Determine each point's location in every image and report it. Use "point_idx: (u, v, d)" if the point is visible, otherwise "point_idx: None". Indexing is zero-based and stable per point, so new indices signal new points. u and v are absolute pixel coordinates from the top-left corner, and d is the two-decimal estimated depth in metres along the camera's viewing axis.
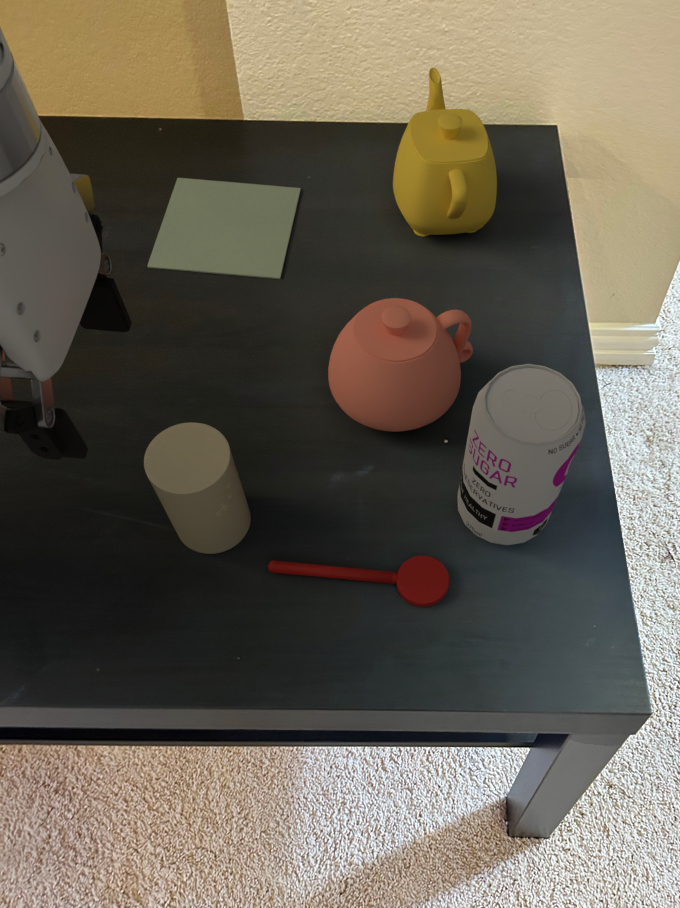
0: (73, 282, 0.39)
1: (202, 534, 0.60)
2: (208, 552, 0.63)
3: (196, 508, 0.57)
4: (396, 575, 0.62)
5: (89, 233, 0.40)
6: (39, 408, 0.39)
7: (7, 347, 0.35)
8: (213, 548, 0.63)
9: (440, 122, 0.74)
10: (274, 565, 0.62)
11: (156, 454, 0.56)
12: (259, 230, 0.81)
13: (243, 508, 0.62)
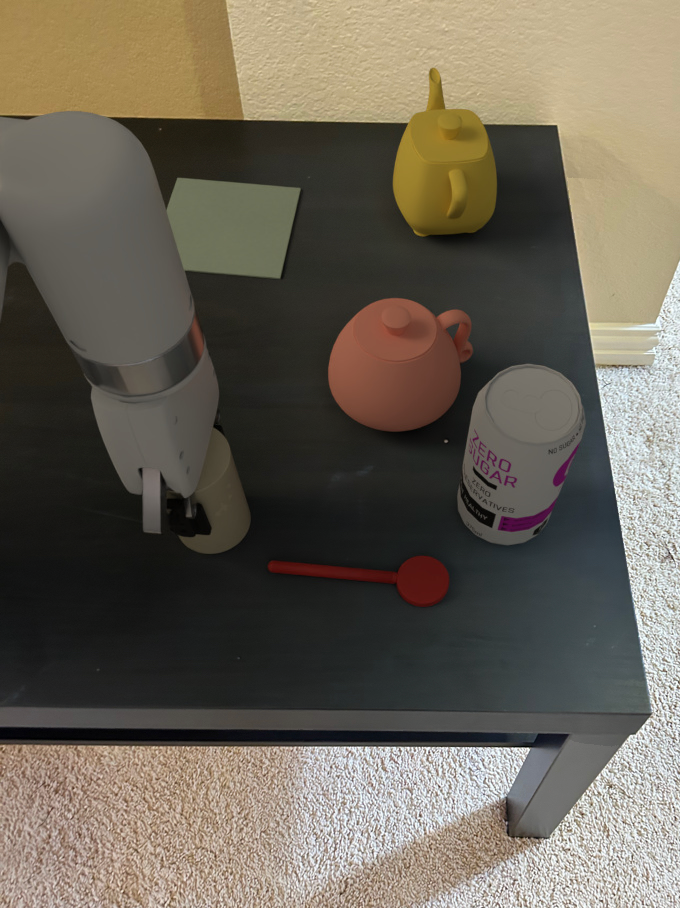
0: (207, 424, 0.53)
1: None
2: (208, 552, 0.63)
3: None
4: (396, 575, 0.62)
5: (214, 383, 0.54)
6: None
7: (168, 479, 0.49)
8: (213, 548, 0.63)
9: (440, 122, 0.74)
10: (274, 565, 0.62)
11: None
12: (259, 230, 0.81)
13: (243, 508, 0.62)
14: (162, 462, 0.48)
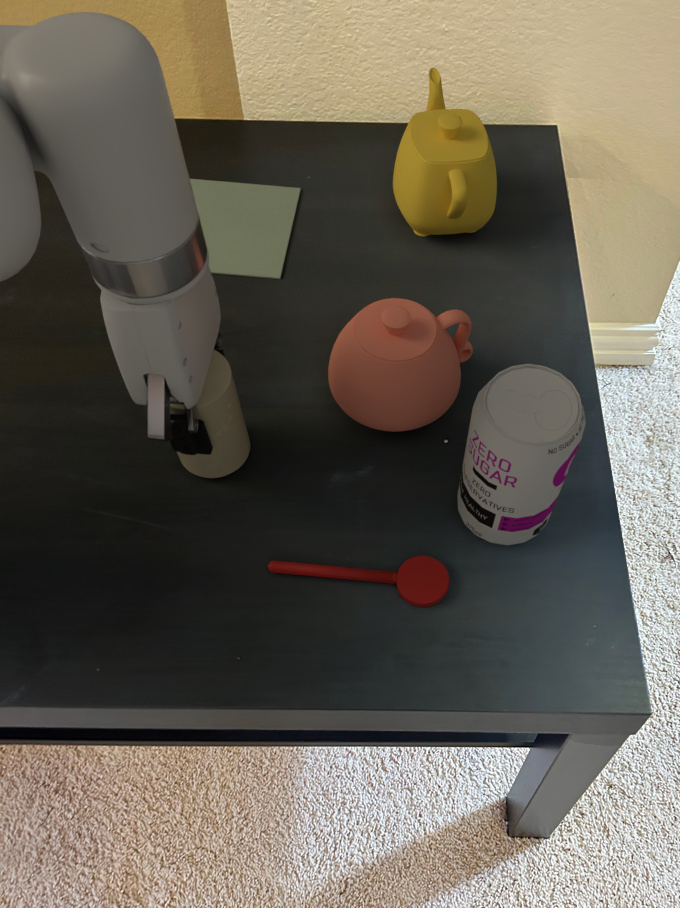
0: (209, 339, 0.55)
1: (203, 455, 0.63)
2: (209, 476, 0.66)
3: None
4: (396, 575, 0.62)
5: (216, 303, 0.57)
6: None
7: (172, 387, 0.52)
8: (214, 472, 0.66)
9: (440, 122, 0.74)
10: (274, 565, 0.62)
11: None
12: (259, 230, 0.81)
13: (243, 433, 0.65)
14: (166, 368, 0.51)
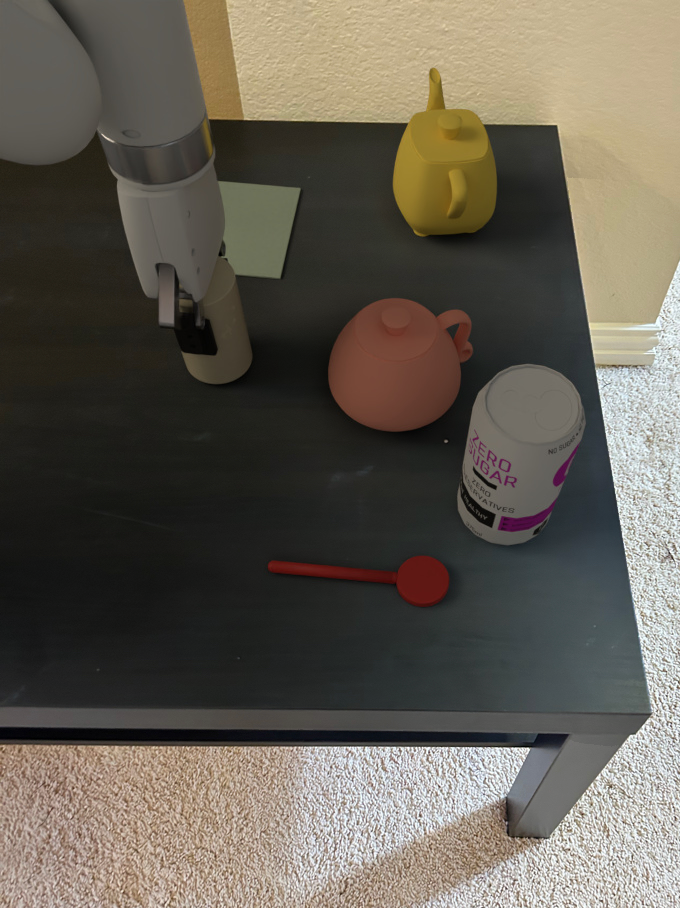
0: (214, 239, 0.60)
1: (209, 358, 0.68)
2: (214, 382, 0.71)
3: None
4: (396, 575, 0.62)
5: (221, 208, 0.62)
6: None
7: (181, 277, 0.57)
8: (219, 377, 0.70)
9: (440, 122, 0.74)
10: (274, 565, 0.62)
11: None
12: (259, 230, 0.81)
13: (246, 340, 0.70)
14: (176, 256, 0.55)
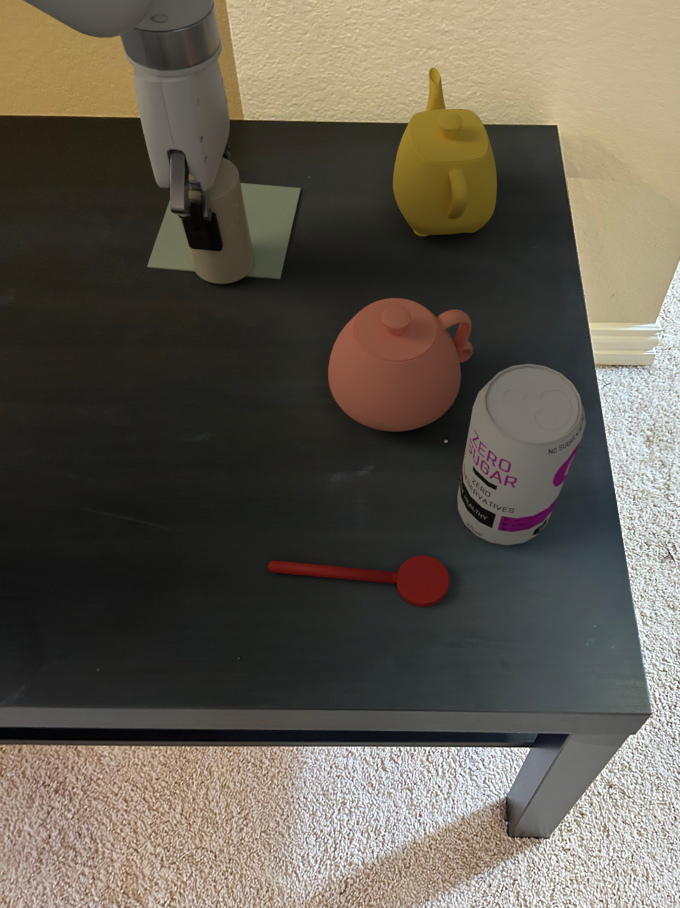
0: (220, 135, 0.66)
1: (215, 255, 0.74)
2: (219, 281, 0.77)
3: None
4: (396, 575, 0.62)
5: (226, 109, 0.68)
6: None
7: (190, 164, 0.63)
8: (223, 276, 0.76)
9: (440, 122, 0.74)
10: (274, 565, 0.62)
11: None
12: (259, 230, 0.81)
13: (248, 241, 0.76)
14: (186, 142, 0.61)
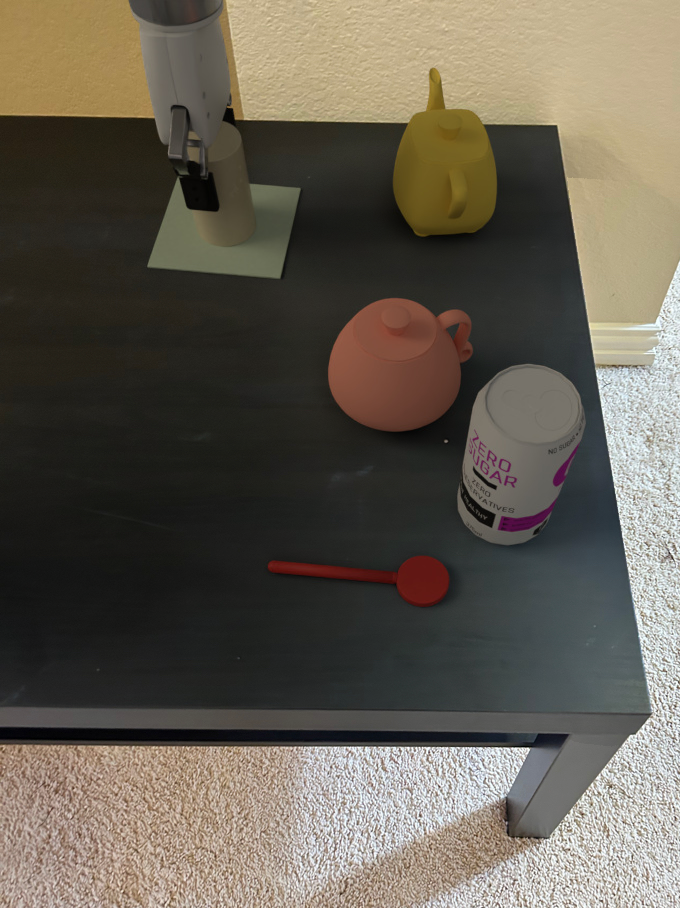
0: (222, 94, 0.69)
1: (218, 217, 0.77)
2: (223, 244, 0.80)
3: (215, 182, 0.73)
4: (396, 575, 0.62)
5: (227, 70, 0.70)
6: (202, 165, 0.69)
7: (193, 120, 0.65)
8: (227, 239, 0.79)
9: (440, 122, 0.74)
10: (274, 565, 0.62)
11: None
12: (259, 230, 0.81)
13: (250, 204, 0.78)
14: (189, 98, 0.64)
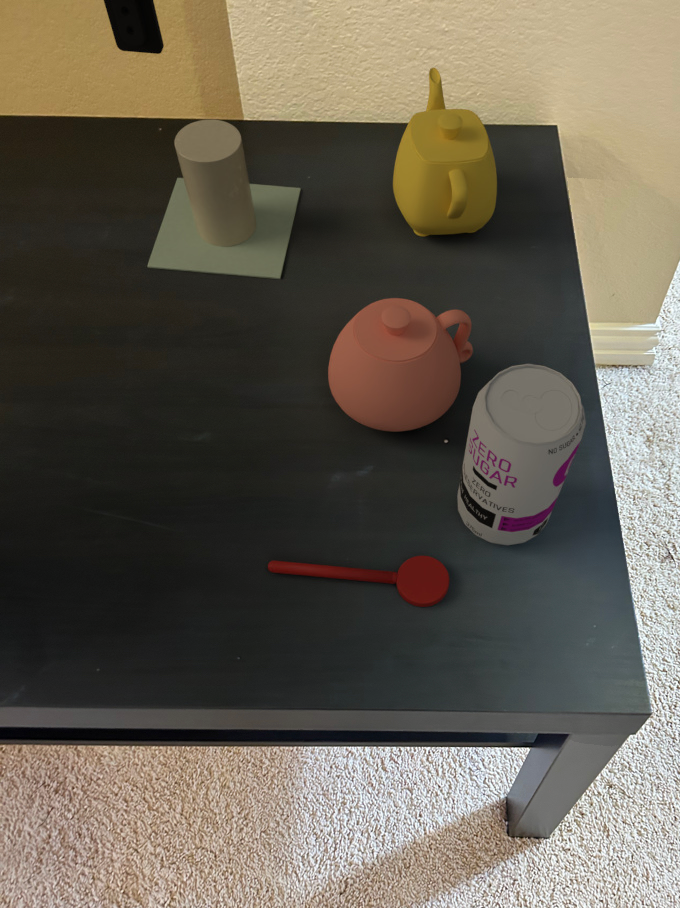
0: None
1: (218, 217, 0.77)
2: (223, 244, 0.80)
3: (215, 182, 0.73)
4: (396, 575, 0.62)
5: None
6: None
7: None
8: (227, 239, 0.79)
9: (440, 122, 0.74)
10: (274, 565, 0.62)
11: (184, 138, 0.73)
12: (259, 230, 0.81)
13: (250, 204, 0.78)
14: None
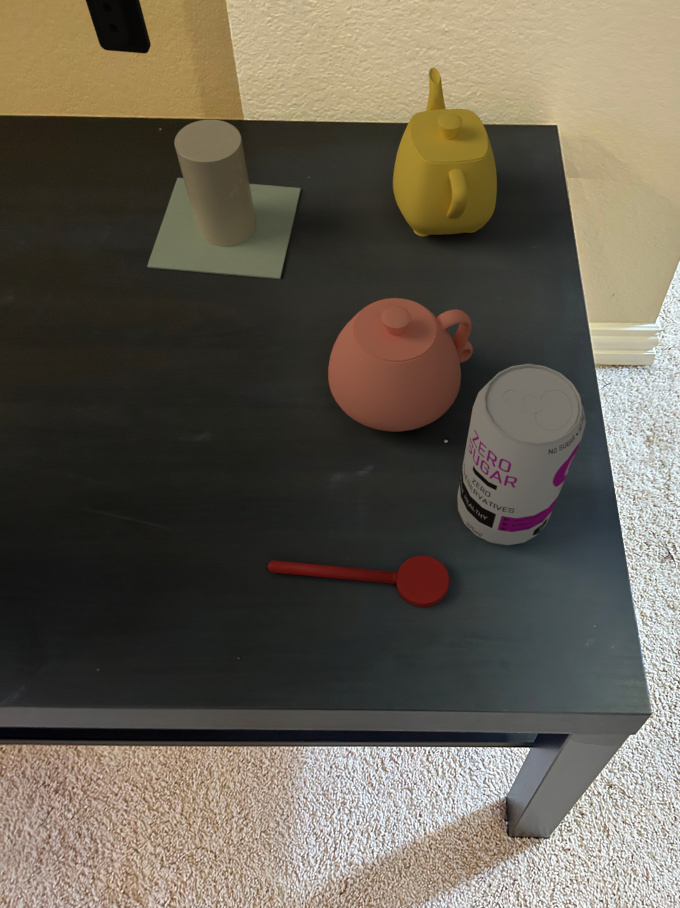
0: None
1: (218, 217, 0.77)
2: (223, 244, 0.80)
3: (215, 182, 0.73)
4: (396, 575, 0.62)
5: None
6: None
7: None
8: (227, 239, 0.79)
9: (440, 122, 0.74)
10: (274, 565, 0.62)
11: (184, 138, 0.73)
12: (259, 230, 0.81)
13: (250, 204, 0.78)
14: None
